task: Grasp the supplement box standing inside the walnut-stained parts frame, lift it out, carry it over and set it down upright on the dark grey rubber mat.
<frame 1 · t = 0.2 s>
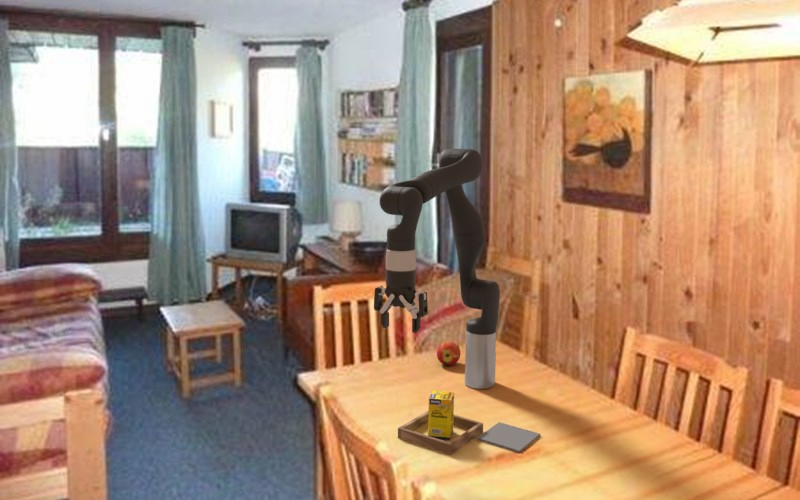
hand: (400, 329, 173), 28 cm above the table, fingers open, 8 cm apart
apple: (448, 364, 232), on the table
mat: (508, 437, 176), on the table
supplement box: (440, 435, 178), resting in parts frame
parts frame: (440, 434, 178), on the table
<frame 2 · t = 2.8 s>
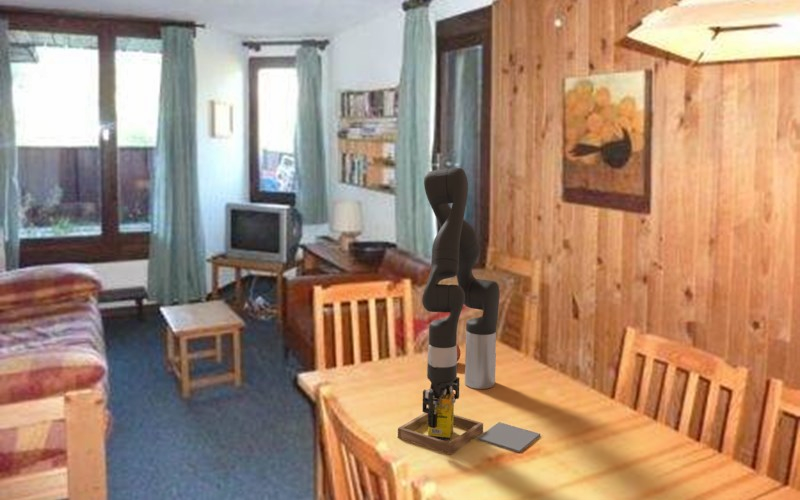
hand: (440, 421, 177), 4 cm above the table, fingers closed on supplement box, 7 cm apart
supplement box: (440, 435, 178), resting in parts frame, touching gripper
everything else where it was.
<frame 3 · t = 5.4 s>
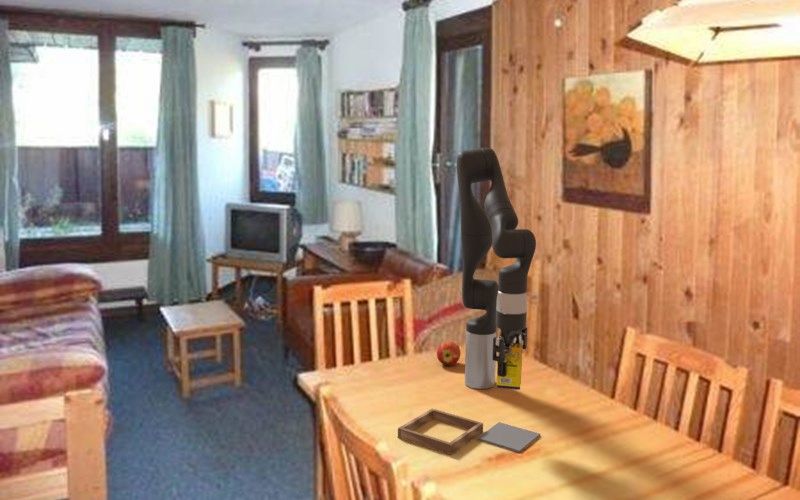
hand: (509, 371, 173), 18 cm above the table, fingers closed on supplement box, 7 cm apart
supplement box: (509, 385, 174), point 14 cm above the table, touching gripper
everything else where it was.
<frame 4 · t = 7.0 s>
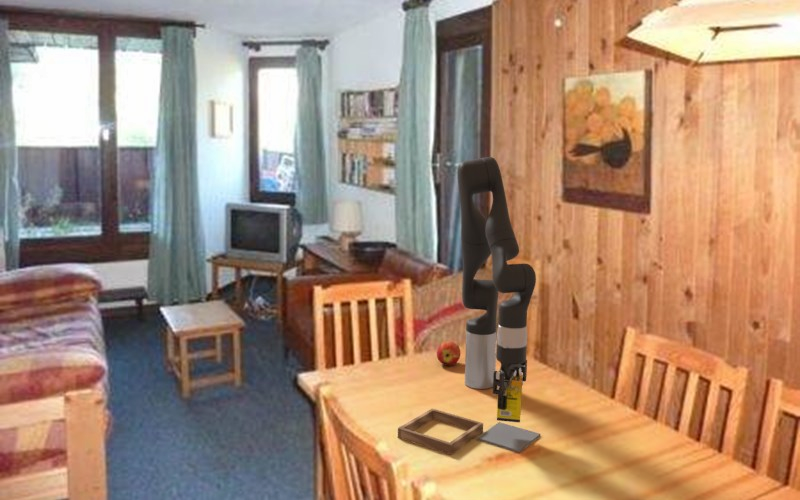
hand: (509, 403, 175), 9 cm above the table, fingers closed on supplement box, 7 cm apart
supplement box: (508, 418, 176), point 5 cm above the table, touching gripper
everything else where it was.
when the fingers open (5 cm above the table, at t = 8.4 s): supplement box drops 1 cm, resting on mat.
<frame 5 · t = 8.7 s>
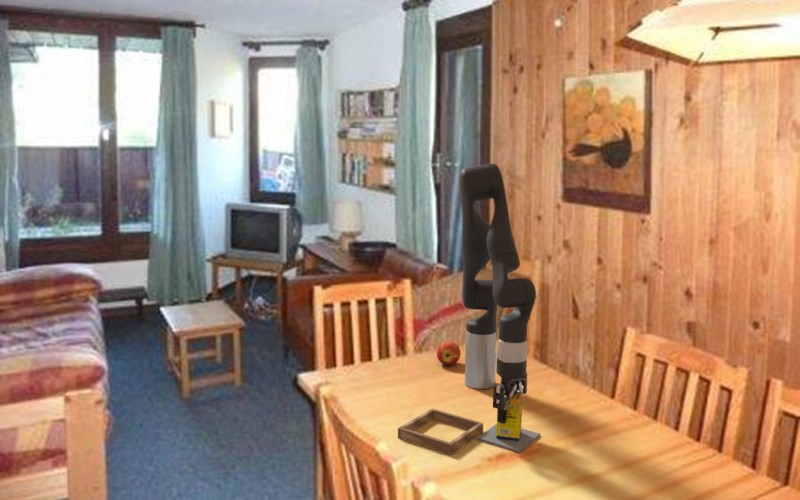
hand: (509, 417, 176), 6 cm above the table, fingers open, 8 cm apart
supplement box: (508, 435, 177), resting on mat
everything else where it was.
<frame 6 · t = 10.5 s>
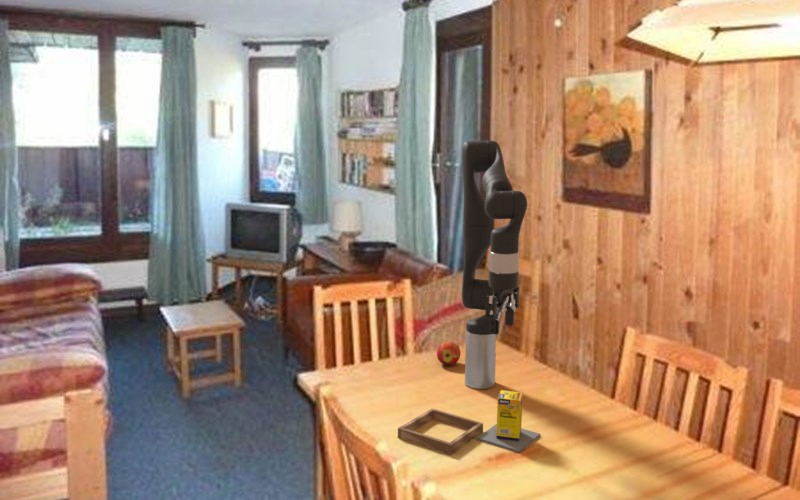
hand: (502, 329, 178), 27 cm above the table, fingers open, 8 cm apart
nothing on the table moved.
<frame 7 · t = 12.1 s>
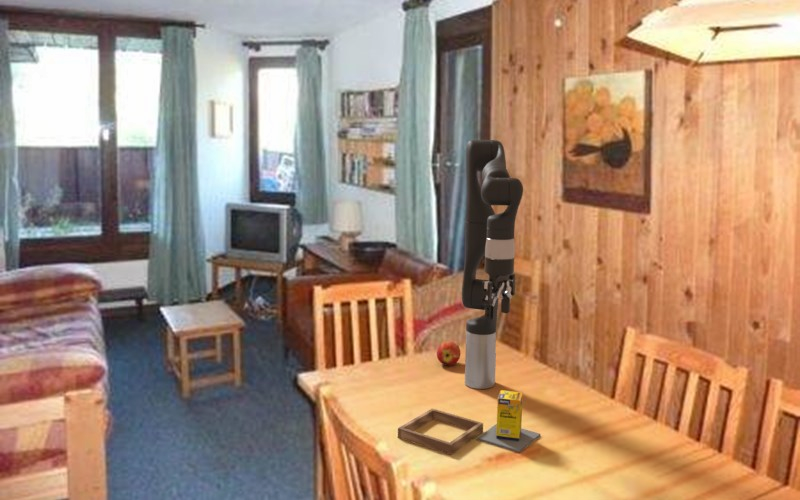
hand: (497, 316, 179), 30 cm above the table, fingers open, 8 cm apart
nothing on the table moved.
at the end: supplement box inside the target area on the mat (0.2 cm from its centre), point 0.4 cm above the mat's base; supplement box tilted 0°; the gripper is holding nothing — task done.
